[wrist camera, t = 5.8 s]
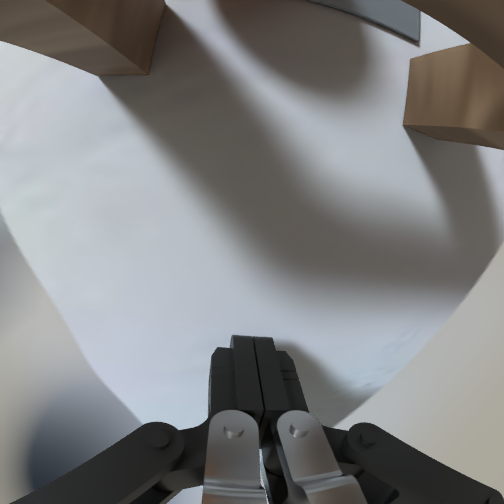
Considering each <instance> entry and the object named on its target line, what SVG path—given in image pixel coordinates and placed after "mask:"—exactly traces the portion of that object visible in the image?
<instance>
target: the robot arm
mask: <svg viewBox="0 0 504 504" xmlns="http://www.w3.org/2000/svg"><path fill="white" fill-rule="evenodd" d="M298 379H299V378H298V375H297V373H296V369H295V365H294V362H293V360H292V359H291V357H290V356H289V355H288V354H287V353H286V352H285V351H276V349H275V345H274V341H273V338H271V337H255V336H253V337H252V336H240V335H232V337H231V342H230V348H222V347H217V349H216V350H215V352H214V353H213V354H212V356H211V365H210V375H209V388H208V418H207V420H206V421H205V422H204V423H202V424H201V425H199V426H197V427H194V428H189V429H183V430H178V429H176V428H175V427H174V426H172V425H170V424H167V423H163V422H150V423H147V424H144V425H142V426H141V427H139V428H138V429H136V430H135V431H133V432H132V433H130V434H129V435H127V436H126V437H124V438H123V439H121V440H120V441H118V442H117V443H115V444H114V445H112V446H111V447H109V448H107V449H106V450H104V451H103V452H101V453H100V454H98V455H96V456H95V457H93V458H92V459H90V460H88V461H87V462H85V463H83V464H82V465H80V466H78V467H77V468H75V469H73V470H72V471H70V472H68V473H66V474H65V475H63V476H61V477H59V478H58V479H56V480H54V481H52V482H51V483H49V484H47V485H45V486H43V487H41V488H39V489H38V490H36V491H34V492H32V493H30V494H28V495H26V496H24V497H22V498H20V499H18V500H16V501H14V502H12V503H10V504H166V503H167V502H169V501H170V500H171V499H172V498H173V497H174V496H176V495H177V494H178V493H179V492H180V491H181V490H182V489H186V488H191V487H196V486H201V485H203V494H202V504H267V500H266V494H267V498H268V502H269V504H504V499H503V497H502V495H501V494H500V492H499V491H497V490H495V489H493V488H491V487H489V486H486V485H484V484H482V483H480V482H478V481H476V480H473V479H472V478H470V477H467V476H466V475H464V474H461V473H460V472H458V471H456V470H454V469H451V468H450V467H448V466H446V465H444V464H442V463H440V462H438V461H437V460H435V459H433V458H431V457H429V456H427V455H426V454H424V453H422V452H420V451H418V450H417V449H415V448H413V447H411V446H410V445H408V444H406V443H404V442H403V441H401V440H399V439H398V438H396V437H394V436H393V435H391V434H389V433H387V432H386V431H384V430H383V429H381V428H379V427H378V426H376V425H374V424H371V423H365V422H364V423H358V424H355V425H354V426H352V427H351V428H350V429H349V431H346V430H340V429H334V428H329V427H326V426H323V425H321V424H320V422H319V420H318V419H317V418H316V417H315V416H313V415H312V414H310V413H309V411H308V408H307V405H306V402H305V398H304V395H303V392H302V388H301V385H300V382H299V381H298ZM259 449H262V456H263V458H262V460H261V463H260V456H259ZM260 469H261V473H262V477H263V482H264V486H265V489H264V488H263V487H262V486H261V480H260ZM265 490H266V492H265Z"/></svg>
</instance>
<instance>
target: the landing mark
mask: <svg viewBox="0 0 504 504" xmlns="http://www.w3.org/2000/svg"><path fill="white" fill-rule="evenodd" d="M309 1H313V2H316V3H320V4H323V5H327V6H330V7H333V8H336V9H339V10H342V11H345V12H348V13H351V14H354V15H356V16H359V17H362V18H364V19H367V20H369V21H372V22H374V23H377V24H379V25H382V26H384V27H386V28H388V29H391V30H393V31H395V32H397V33H399V34H401V35H404V36H406V37H408V38H410V39H412V40H414V41H416V42H417V41H419V10H418V9H416V8H414V7H413V6H411V5H409V4H407V3H405V2H403V1H401V0H309Z"/></svg>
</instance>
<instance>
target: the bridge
mask: <svg viewBox="0 0 504 504" xmlns="http://www.w3.org/2000/svg"><path fill="white" fill-rule="evenodd" d="M401 1H403V2H405V3H407V4H409V5H411V6H413V7H414V8H416V9H418V10H420V11H422V12H424V13H425V14H427V15H429V16H430V17H432V18H434V19H436V20H437V21H439V22H440V23H442V24H444V25H445V26H447V27H448V28H450V29H451V30H453V31H455V32H456V33H457V34H459V35H460V36H462V37H463V38H465V39H466V40H468V41H469V42H470V43H469V44H465V45H460V46H456V47H452V48H448V49H444V50H440V51H436V52H433V53H429V54H425V55H422V56H419V57H415V58H412V59H410V69H409V80H408V89H407V98H406V106H405V113H404V120H403V125H404V126H407V127H409V128H412V129H414V130H417V131H419V132H421V133H424V134H426V135H428V136H431V137H433V138H435V139H438V140H443V141H451V142H459V143H466V144H473V145H479V146H485V147H491V148H496V149H501V150H504V0H401ZM165 4H166V3H165V1H164V0H0V41H3V42H6V43H10V44H13V45H16V46H19V47H22V48H25V49H28V50H31V51H34V52H37V53H40V54H43V55H45V56H48V57H51V58H54V59H56V60H59V61H61V62H64V63H67V64H69V65H72V66H74V67H77V68H79V69H82V70H84V71H86V72H89V73H91V74H94V75H96V76H106V75H148V73H149V68H150V64H151V59H152V54H153V50H154V46H155V41H156V37H157V33H158V29H159V25H160V22H161V18H162V14H163V11H164V7H165Z"/></svg>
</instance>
